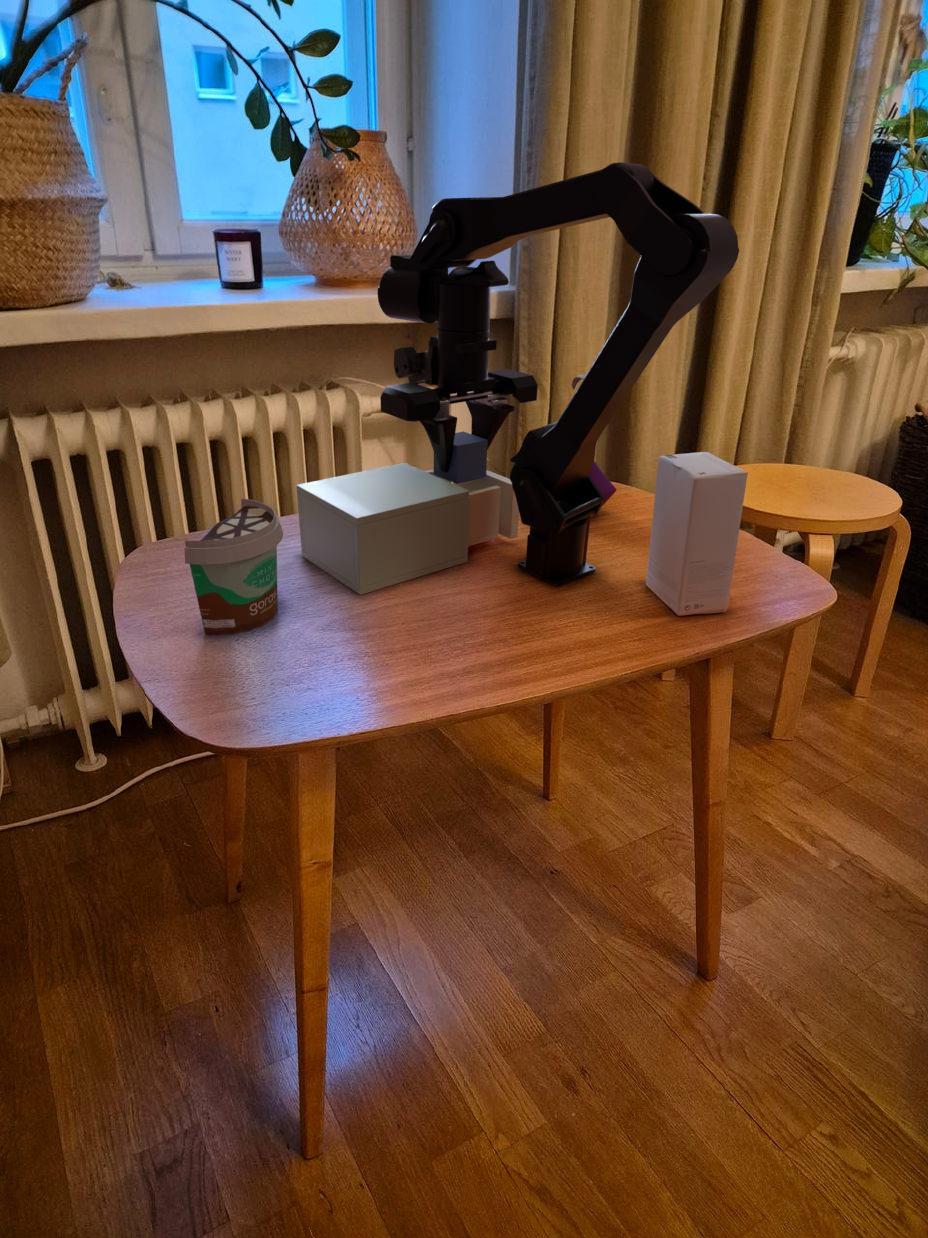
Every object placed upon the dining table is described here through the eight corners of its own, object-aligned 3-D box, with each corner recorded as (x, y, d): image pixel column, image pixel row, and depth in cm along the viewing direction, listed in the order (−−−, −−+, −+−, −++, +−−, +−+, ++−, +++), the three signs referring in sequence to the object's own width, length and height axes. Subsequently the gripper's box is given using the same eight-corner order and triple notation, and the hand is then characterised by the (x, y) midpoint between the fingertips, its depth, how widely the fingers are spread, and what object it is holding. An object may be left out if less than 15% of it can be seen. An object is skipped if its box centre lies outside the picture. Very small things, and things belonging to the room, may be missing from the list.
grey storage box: (405, 528, 100) (404, 462, 96) (467, 561, 92) (469, 490, 88) (301, 556, 92) (296, 484, 88) (360, 595, 84) (356, 518, 80)
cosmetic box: (727, 613, 82) (755, 473, 75) (673, 618, 81) (697, 476, 74) (689, 578, 89) (711, 448, 82) (639, 583, 88) (657, 451, 81)
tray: (484, 503, 107) (486, 453, 103) (543, 529, 99) (547, 476, 96) (372, 532, 97) (370, 478, 93) (428, 564, 89) (428, 506, 86)
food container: (258, 649, 73) (247, 549, 69) (197, 641, 74) (181, 542, 70) (308, 592, 84) (301, 502, 79) (253, 585, 85) (243, 496, 80)
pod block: (462, 467, 97) (463, 431, 95) (486, 477, 94) (487, 439, 92) (433, 474, 95) (433, 436, 93) (456, 484, 92) (457, 445, 90)
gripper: (481, 313, 97) (477, 439, 105) (350, 325, 87) (356, 464, 94) (545, 325, 90) (536, 460, 97) (409, 339, 79) (411, 489, 87)
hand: (460, 467), depth 94 cm, fingers closed on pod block, 4 cm apart
